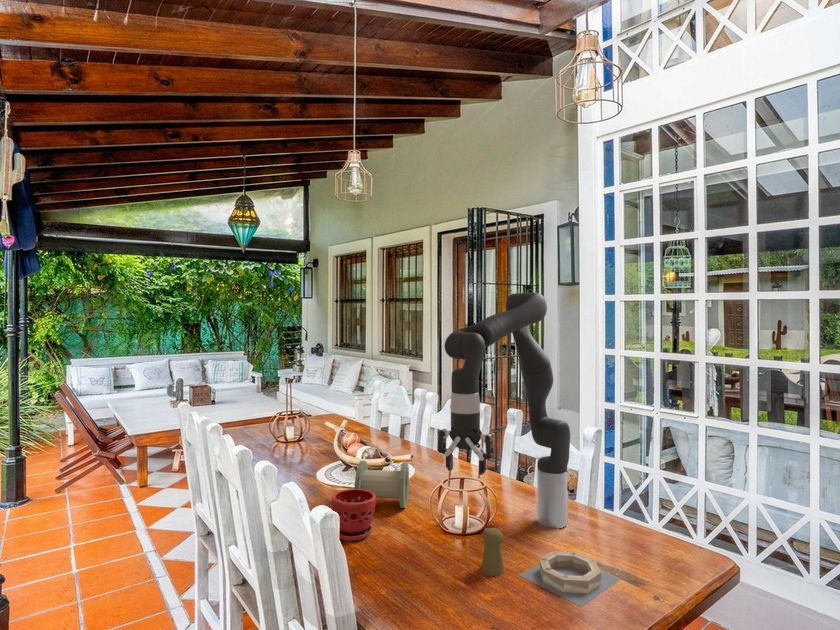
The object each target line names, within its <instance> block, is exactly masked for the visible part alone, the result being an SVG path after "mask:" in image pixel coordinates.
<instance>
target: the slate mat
mask: <svg viewBox="0 0 840 630" xmlns="http://www.w3.org/2000/svg"><path fill="white" fill-rule="evenodd" d="M553 570H555V571H557V572H559V573H561V574H564V575H567V576H584V575H585V574H587V573H585V572H583V571H581V570H579V569H576V568H574V567H555V568H554V569H553ZM600 571H601V585H600V586H598V587H597V588H595V589H594V590H592V591H591V592H590V593H570V592H562V591H560V590H558V589H556V588H554V587H552V586H550V585H548V584H546V583H544V582H543V579H542V576H541V573H540V570H539V563H538V564H536V565H534V566H532V567H531V568H529V569H527V570H525V571H523V572H522V573H520V574H518V576H519V577H520V578H524V579H525V580H527V581H529V582H531V583H533V584H535V585H538V586H539V587H541V588H543V589H545V590H546V591H549V592H551V593H553V594H554V595H557V596H559V597H561V598H563V599H565V600H567V601H568V602H571V603H573V604H575V605H577V606H579V607H581V608H584V607H585V606H587V604H589V603H590V602H591V601H593V600H595V599H596V598H597V597H599V596H600V595H601V594H602V593H605V591H607V590H608V589H609V588H611V587H613V586H614V585H615V584H617V582H619V581H621V578H620V577H617V576H615V575H613V574H611V573H608V572H606V571H604V570H600Z"/></svg>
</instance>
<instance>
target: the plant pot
mask: <svg viewBox="0 0 840 630" xmlns="http://www.w3.org/2000/svg"><path fill="white" fill-rule="evenodd" d="M358 497H361V499H358ZM365 499H366V500H365ZM376 499H377V498H376V496H375V494H374V493H372V492H370V491H368V490H363V489H355V488H349V489H343V490H339V491H337V492H335V493H334V494H333V495H332V497H331V511H332V510H333V511H335V512H337V513H338V514H339V516H340V538H339V540H343V541H348V542H350V541H351V542H352V541H361V540H363V539H365V538H367V537H369V535H370V534H371V533H372V531H373V528H372V525H371V524H372V522H373V519H374V518H375V510H376ZM352 500H354V502H352Z"/></svg>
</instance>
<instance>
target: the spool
mask: <svg viewBox="0 0 840 630" xmlns="http://www.w3.org/2000/svg"><path fill="white" fill-rule="evenodd" d="M367 462H368V461H366V460H359V462H358V464H357V468H356V472H355V479H354V489H363V490H368V491H370V492H372V493H374V494H375V496H376V499H398V500H399V501H398V502H399V508H400V509H407V506H408V500H409V491H410V489H409V487H410V470H409V469H410V468H409V462H408V461H402V462H401V465H400V470H383V469H382V470H381V469H379V470H378V469H369V467H368V463H367ZM358 499H361V497H358ZM365 501H367V499H365Z"/></svg>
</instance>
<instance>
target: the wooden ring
mask: <svg viewBox="0 0 840 630" xmlns="http://www.w3.org/2000/svg"><path fill="white" fill-rule="evenodd" d="M538 564H539V570H540V573H541V576H542V579H543V582H544V583H546V584H548V585H550V586H552V587H554V588H556V589H558V590H560V591H562V592H570V593H590V592H591V591H592V590H594V589H595V588H597V587H598V586H600V585H601V571H602V570H601V571H600V568H599V566H598V563H597V562H596V560H595V559H592V558H589V557H587V556H585V555H582V554H580V553H577V552H575V551H550V552H548V553H546V554H545V555H542V557H539V563H538ZM555 567H574V568H576V569H579V570H581V571H583V572H585V573H587V574H585V575H584V576H567V575H564V574H561V573H559V572H557V571H555V570H553V569H554V568H555Z"/></svg>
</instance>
